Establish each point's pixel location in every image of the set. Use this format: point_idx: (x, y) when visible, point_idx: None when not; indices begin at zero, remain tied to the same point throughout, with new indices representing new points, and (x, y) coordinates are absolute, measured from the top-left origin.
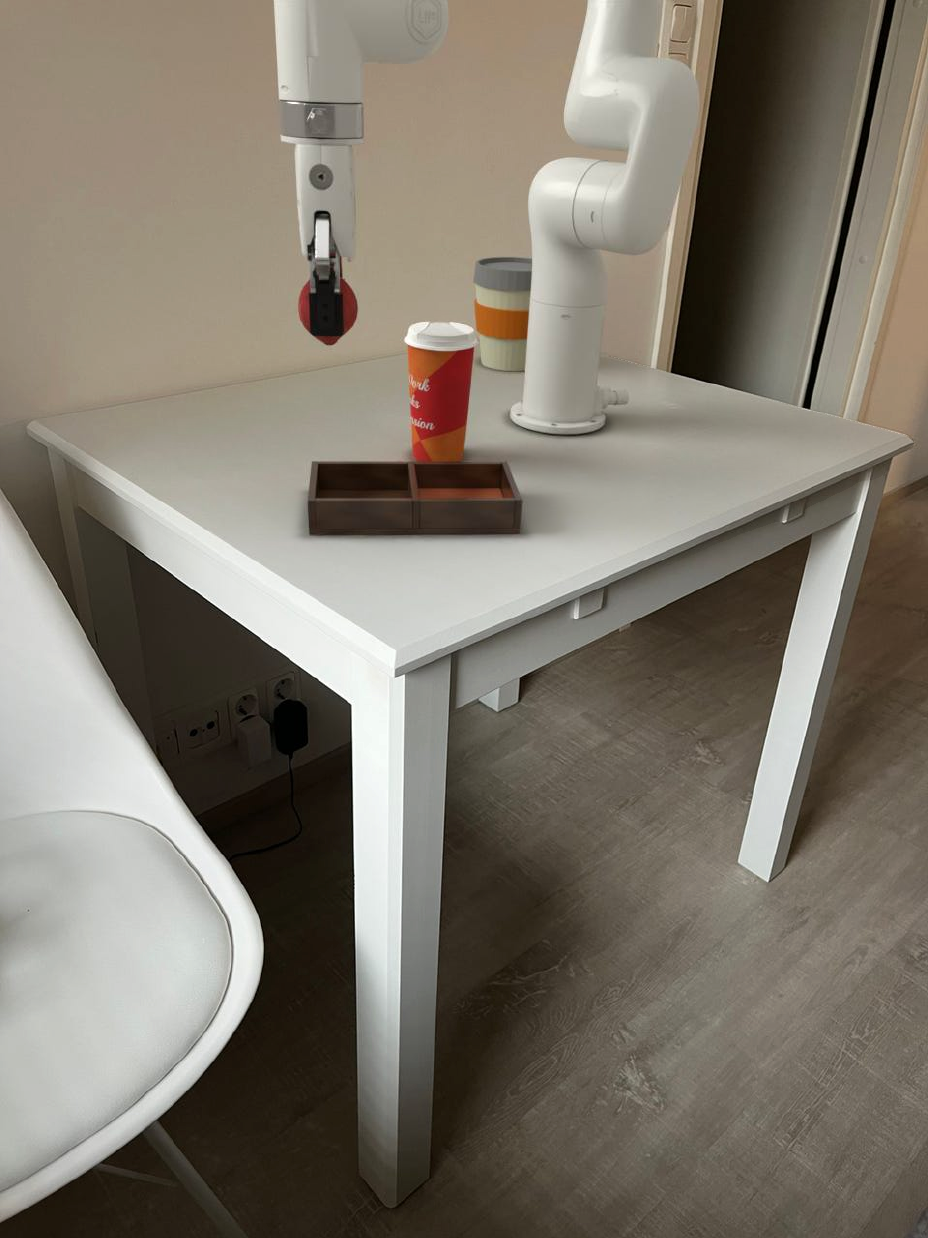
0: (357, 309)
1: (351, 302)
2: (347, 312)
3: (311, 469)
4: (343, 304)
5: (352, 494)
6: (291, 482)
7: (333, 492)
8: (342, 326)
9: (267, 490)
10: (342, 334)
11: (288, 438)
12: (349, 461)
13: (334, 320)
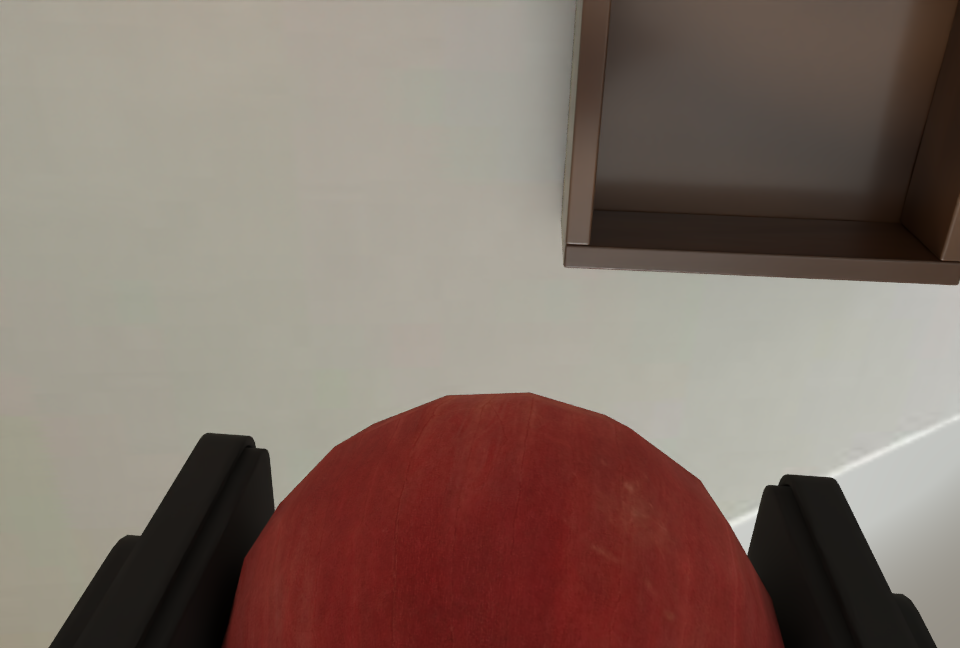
0: (544, 445)
1: (679, 572)
2: (731, 546)
3: (652, 270)
4: (765, 642)
5: (637, 94)
6: (463, 287)
7: (613, 161)
8: (853, 525)
9: (529, 354)
10: (829, 481)
11: (49, 298)
12: (579, 128)
13: (926, 631)
